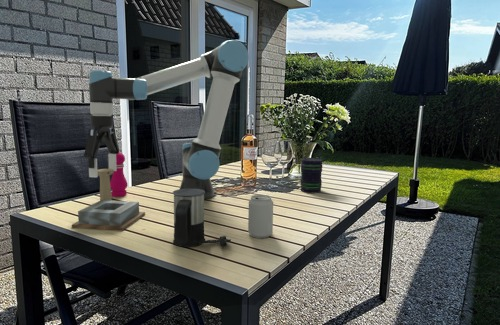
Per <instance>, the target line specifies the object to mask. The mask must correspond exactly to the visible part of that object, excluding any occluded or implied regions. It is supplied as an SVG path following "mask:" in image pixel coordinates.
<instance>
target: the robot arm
mask: <svg viewBox="0 0 500 325" xmlns="http://www.w3.org/2000/svg"><path fill="white" fill-rule="evenodd" d="M249 59H250V57H249V51H248V49H247V48H246V46H245V45H244V44H243V43H242V42H240V41H239V40H236V39H231V40H230V39H229V40H225V41H223V42H222V43H220V45H218V46H217V47H215V48H214V49H212V50H210V51H208V52H206V53H203V54H201V55H200V57H198V58H196V59H193V60H190V61H186V62H183V63H180V64H177V65H174V66H171V67H167V68H165V69H160V70H158V71H155V72H152V73H149V74H145V75H142V76H139V77H134V78H132V77H129V78H128V77H114V75H113V73H112V71H109V70H102V69H101V70H99V69H95V70H94V69H93V70H91V71H90V72H89V74H88V76H89V77H88V79H89V80H88V81H89V83H88V87H89V90H88V92H89V104H90V105H89V108H90V113H89V114H91V115H90V116H89V117H90V127H94V128H93V129H88V137H87V140H86V145H85V150H84V154H83V158H84V159H87V161H88V162H87V163H88V178H98V177H99V176H98V173H97V170H98V158H96V157H97V154H98V153H99V150H100V148H101V144H103V143H104V144H105V146H106V148H107V150H108V151H109V153H108V154H107V155H108V169H114V171H117V170H116V154H119V153H120V147H119V144H118V140H117V136H116V129H115V127H113V126H114V117H113V116H112V115H113V114H114V104H113V99H115V100H117V99H118V100H128V101H135V100H136V101H140V100H147V98H148V96H149V95H152V94H155V93H158V92H162V91H165V90H167V89H171V88H173V87H177V86H179V85H182V84H183V85H184V84H186V83H189V82H192V81H195V80H198V79H201V78H204V77H206V78H208V79H211V78H213V79H212V82H211V85H210V89H209V93H208V96H207V101H206V104H205V107H204V108H205V109H204V111H203V115H202V119H201V122H200V126H199V127H200V128H199V131H198V133H197V137H196V138H194V139H193V140H192V141H191V142H186V143H183V144H182V148H181V149H182V150H181V154H182V156H181V157H182V179H181V183H180V186H179V189H188V188H189V189H201V190H204V191H205V193H204V200H206V199H211V198H212V197H214V196H215V190H214V186H213V183H212V181H211V179H212V178H213V177H214V176H215V175H216V174H217V173H218V172H219V169H220V163H221V162H220V159H219V158H220V154H221V152H222V147H221V145H220V140H221V135H222V132H223V129H224V125H225V121H226V118H227V115H228V110H229V106H230V102H231V100H232V96H233V91H234V88H235V85H236V84H237V83H239V82H240V80H241V78H242V74H243V70H244V69H245V68H246V67H247V65H248V63H249Z"/></svg>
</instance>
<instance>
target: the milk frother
mask: <svg viewBox="0 0 500 325" xmlns="http://www.w3.org/2000/svg"><path fill="white" fill-rule="evenodd" d="M204 193H205V191H204V190H201V189H189V188H188V189H180V188H179V189H176V190H175V189H174V190H173V191H172V194H173V222H174V223H173V240H172V242H173V244H174V245H176V246H178V247H185V248H188V247H189V248H191V247H198V246H201V245H202V244H203V245H204V244H219V246H221V247H222V246H223V247H224V246H227V244H228V243H232V239H230V238H227V236H226V235H221V236H219V237H218V238H217V239H216V238H215V239H206V238H205V237H206V236H205V199H204Z"/></svg>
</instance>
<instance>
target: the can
mask: <svg viewBox="0 0 500 325" xmlns="http://www.w3.org/2000/svg"><path fill="white" fill-rule="evenodd" d="M247 217H248V220H247V223H248V224H247V226H248V228H247V230H248V231H247V233H248V235H250V236H251V237H253V238H258V239H265V238H268V237H270V236H271V235H272V234H274V233H273V232H274V231H273V230H274V228H273V227H274V225H273V224H274V223H273V222H274V201H273V200H272V197H271V196H270V195H267V194H254V195H252V196H250V200H249V201H248V216H247Z"/></svg>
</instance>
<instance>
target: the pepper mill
mask: <svg viewBox="0 0 500 325" xmlns="http://www.w3.org/2000/svg"><path fill="white" fill-rule="evenodd" d="M125 160H126V157H125V155H124V154H123V153H121V152H119V154H116V170H117V171H114V173H113V174H112V177H111V178H110V187H111V197H115V198H116V197H118V198H119V197H125V196H127V195H128V194H127V192H128V191H127V187H128V181H127V178H126V177H125V173H124V168H125V166H124V165H125V164H124V162H126V161H125Z"/></svg>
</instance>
